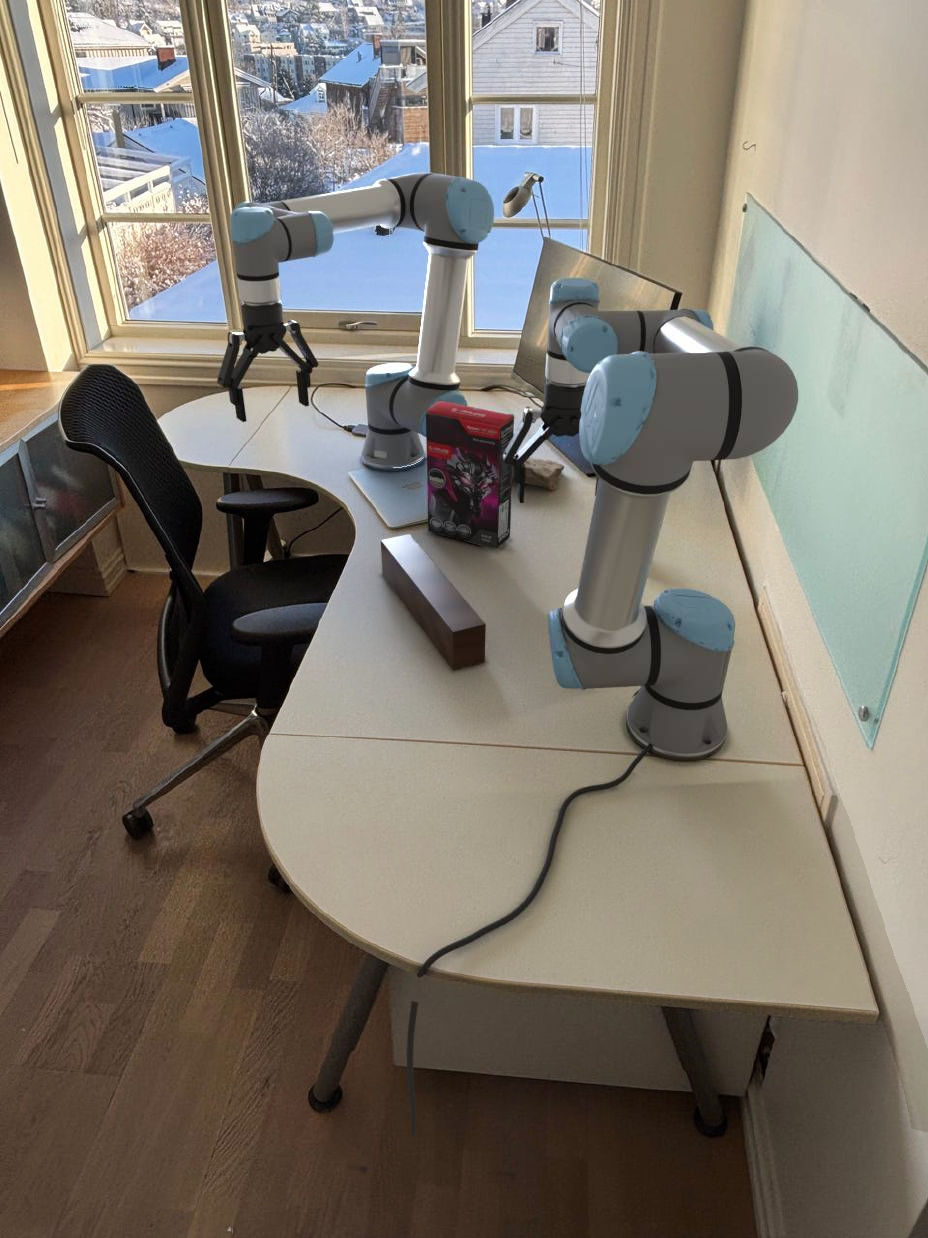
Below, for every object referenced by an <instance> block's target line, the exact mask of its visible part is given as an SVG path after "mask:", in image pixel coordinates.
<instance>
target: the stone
mask: <svg viewBox="0 0 928 1238" xmlns="http://www.w3.org/2000/svg"><path fill="white" fill-rule="evenodd" d="M517 453H518V451H517V452H516V454H517ZM516 454H515V455H516ZM524 464H525V468H526V471H525V484H528V485H532V486H541V487H543V488H545V489H547V490H554V489H555V488H556V486H557V484H558V479H559V477H560V476H561V474H562V472H563V470H564V469H565V466H564V465H563V464H561V463H559V462H557V461H553V460H550V459H540V458H537V457H536V458H535V457H529V458H528V459H527V460H526V461H525V462H524ZM512 478H513V466H512Z"/></svg>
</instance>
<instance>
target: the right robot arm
mask: <svg viewBox="0 0 928 1238" xmlns="http://www.w3.org/2000/svg"><path fill="white" fill-rule="evenodd" d="M600 301H601V300H600V286H599V284H598V283H597V282H596V281H594V280H593V279H589V278H585V277H564V278H559V279H557V280H555V281H553V282H552V284H551V286H550V293H549V300H548V303H547V306H548V322H547V323H548V324H547V341H546V342H547V344H546V357H545V359H546V360H545V372H544V376H545V378H546V379H545V381H544V388H543V389H544V390H543V405H542V407H541V409H533V408H531V407H530V406H525V407H524V408H523V413H522V414H523V415H522V419H521V420H520V423H519V425H518V426H517V428H516V430H515V432H514V433H513V437H512V439H511V441H510V442H509V444H508V446H507V448H506V450H505V451H504V453H503V460H504V463H505V464H510V465H512V466H513V477H512V482H513V485H518V487H517V490H518V491H517V498H518V502H519V504H525V491H526V490H525V488H526V482H525V471H526V468H525V464H524V462H525V461H526V460H527V459H528V458H531V456H532V455H533V454H535V452H536V451H537V450H538V449H539V448H540V446H542V445H543V443H544V442H545V441H547V440H549V438H551V437H552V435H554V436H555V437H559V438H560V437H564V436H567V437H575V436H576V435H579V445H580V450H581V453H582V456H583V458H584V459H585V460H586V461H587V462H588V463H590V466H591V468H592V471H593V472H594V474H595V477H596V479H595V487H594V489H595V490H594V496H595V497H594V503H593V509H592V512H591V513H592V514H591V519H590V523H589V524H590V525H589V528H588V529H589V530H588V534H587V540H586V544H585V550H584V556H583V561H582V565H581V571H580V576H579V581H578V587H577V588H576V589H574V590H572V592H570V593H569V595H568V596H567V597H566V598H565V601H564V604H563V607H557V608H556V609H551V610H550V611H549V612H548V614H547V626H548V627H547V628H548V636H549V646H550V647H549V648H550V655H551V662H552V668H553V673H554V677H555V680H556V683H557V684H558V685H559V686H560V687H561V688H562V689H567V690H571V689H572V690H573V689H575V690H582V691H585V690H591V689H593V690H594V689H609V688H610V689H611V688H623V687H624V688H627V687H628V688H629V687H640V688H639V689H638V690H637V691H635V692H634V694H633V695H632V696H631V699H632V701H631V702H630V704H629V706H628V708H627V711H626V719H625V728H626V732H627V734H628V736H629V738H630V739H631V741H632V742H634V744H636V745H637V746H638V747H639V748H640V749H641V750H642V751H641V752H640V753H639V754H638V755H637V756H636V757H635V758H634V759H633V761H632V762H631V763H630V765H629V766H628V768H627V769H626V770H625V771H624V773H623V774H622V775H620V776H619V777H618V778H616V779H614V780H612V781H609V782H604V783H600V784H595V785H588V786H584V787H581V788H579V789H577V790H575V791H574V792H572V793H571V794H570V795H569V796H568V797H567V798H566V799H565V800H564V802H563V803H562V805H561V806H560V809H559V812H558V816H557V818H556V822H555V825H554V828H553V830H552V834H551V838H550V841H549V845H548V851H547V855H546V858H545V861H544V863H543V867H542V869H541V871H540V874H539V876H538V878H537V880H536V882H535V884H534V886H533V888H532V890H531V891H530V892H529V894H528V896H527V897H526V898H525V899H524V900H523V902H522V903H520V904H519V905H518V906H517V907H516V908H515V909H514V910H513V911H511V912H510V913H508V914H507V915H505V916H503V917H502V918H500V919H497V920H495V921H494V922H492V923H489V924H487V925H486V926H483V927H482V928H480V929H478V930H477V931H475V932H473V933H471V934H470V935H468V936H465V937H463V938H461V939H459V940H457V941H455V942H452V943H450V944H447V945H446V946H444V947H442V948H440V949H438V950H437V951H435V952H434V953H433V954H432V955H430V956H429V957H428V958H427V960H425V962H424V963H423V964H422V965H421V966H420V968H419V969H418V971H417V973H416V977H418V978H423V977H424V976H425V974H426V972H427V971H428V970H429V968H430V967H431V966H432V965H433V964H434V963H436V961H437V960H439V959H441V958H442V957H444V956H445V955H447V954H449V953H451V952H453V951H455V950H458V949H460V948H462V947H464V946H467V945H468V944H472V942H475V941H476V940H478V939H480V938H481V937H483V936H485V935H486V934H489V933H490V932H492V931H494V930H497V929H498V928H500V927H502V926H504V925H506V924H508V923H509V922H511V921H513V920H514V919H515V918H517V917H518V916H519V915H521V913H523V912H524V911H525V910H526V909H527V908H528V906H530V905H531V903H532V902H533V901H534V899H535V898H536V896H537V895H538V893H539V892H540V891H541V888H542V886H543V884H544V882H545V880H546V877H547V875H548V873H549V872H550V871H549V870H550V868H551V865H552V862H553V859H554V854H555V851H556V846H557V840H558V837H559V834H560V831H561V829H562V825H563V822H564V818H565V815H566V812H567V809H568V808H569V806H570V804H571V803H572V802H573V801H574V800H576V799H577V798H578V797H579V796H581V795H584V794H587V793H590V792H596V791H603V790H608V789H611V788H614V787H616V786H618V785H621V784H622V783H623V782H624V781H626V780H627V779H628V778H629V776H630V775H631V774H632V772H633V771H634V769H635V768H636V767H637V766H638V765H639V763H640V762H641V761H642V760H643V759H644V758H645V757H646V756H647V754H650V755H651V756H654V757H656V758H659V759H662V760H666V761H670V762H675V763H694V762H700V761H703V760H706V759H709V758H711V757H714V755H716V754H718V752H720V751H721V750H722V748H723V747H724V744H725V743H726V740H727V739H726V738H727V734H728V721H727V716H726V712H725V708H724V707H725V706H724V701H723V692H724V686H725V682H726V678H727V674H728V669H729V664H730V659H731V654H732V651H733V649H734V646H735V640H734V639H735V632H736V620H735V617H734V614H733V612H732V611H731V609H730V608H729V607H728V606H727V605H726V604H725V603H723V602H722V601H721V600H720V599H718V598H716V597H715V596H712V595H711V594H709V593H706V592H704V591H701V590H696V589H693V588H686V587H673V588H668V589H665V590H663V591H662V592H660V593H658V595H657V596H656V597H655V599H654V601H653V604H652V605H643V603H642V598H643V595H644V592H645V588H646V586H647V585H646V584H647V580H648V578H649V577H648V576H649V573H650V570H651V565H652V563H653V558H654V555H655V551H656V547H657V544H658V540H659V537H660V533H661V529H662V525H663V523H664V518H665V515H666V511H667V507H668V504H669V500H670V496H671V493H672V492H675V491H677V490H679V489H680V488H681V487H682V486H683V485H684V484H685V483H686V482H687V480H688V479H689V477H690V475H691V471H692V467H693V464H694V463H695V462H709V461H710V462H711V461H726V460H728V461H729V460H738V459H742V458H746V457H750V456H752V455H754V454H757V453H759V452H761V451H764V449H766V448H768V447H769V446H770V445H773V444H774V442H776V441H777V440H778V439H779V438H780V437H781V436H783V435H784V433H785V431H786V430H787V428H788V427H789V426H790V424H791V423H792V420H793V419H794V417H795V414H796V412H797V409H798V408H797V407H798V404H799V388H798V387H799V386H798V381H797V378H796V376H795V374H794V371H793V369H792V368H791V367H790V365H789V364H788V363H787V362H786V361H785V360H784V359H783V358H782V357H779V356H778V355H776V354H775V353H773V352H771V351H769V350H768V349H766V348H762V347H760V346H751V345H750V346H741V345H739V344H738V343H736V342H735V341H733V340H731V339H729V338H727V337H725V336H724V335H722V334H720V333H718V332H716V331H715V329H714V323H713V320H712V316H711V315H710V313H709V312H707V310H703V309H692V308H680V309H661V310H660V309H659V310H658V309H657V310H599V304H600V303H601V302H600ZM538 419H540V420H541V421H542V424H541V425H540V426H539V428H538V430H537V431H536V432H535V433H534V434H533V435H532V436H531V437H530V439H529V440H528V441H527V442H525V444H524V445H523V446H522V443H523V442H524V440H525V438H526V437H527V435H528V433H529V431H530V429H531V427H532V424H535V423H536V421H537V420H538ZM521 446H522V447H521ZM519 448H520V449H519ZM516 452H517V454H516ZM515 454H516V455H515ZM418 1008H419V1002H417V1001H414V1000H411V1004H410V1010H409V1019H408V1027H407V1037H406V1072H407V1086H408V1087H407V1088H408V1100H409V1101H408V1102H409V1114H410V1115H409V1116H410V1133H411V1134H414V1135H415V1134H416V1133H417V1127H418V1126H417V1104H416V1103H417V1102H416V1090H415V1089H416V1088H415V1075H414V1045H415V1044H414V1043H415V1033H416V1031H415V1030H416V1021H417V1014H418Z"/></svg>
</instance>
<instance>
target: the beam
mask: <svg viewBox="0 0 928 1238" xmlns="http://www.w3.org/2000/svg"><path fill="white" fill-rule="evenodd" d="M380 553H381V557H380V558H381V575H382V577H383V579H384V580H385V581H386V582H387V584H388V585H389V587H390V588H391V590H392V591H393V592H394V594H395V595H396V596H397V597H398V599H399V600H400V602H401V603H402V604H403V606H404V607H405V608H406V609H407V611H408V612H409V613H410V615H411V616H412V618H413V619H414V621H415V622H416V623H417V624H418V626H419V628H421V630H422V632H423V633H424V634H425V635H426V637H427V638H428V639H429V641H430V642H431V643H432V645H433V646H434V648H435V649H436V650H437V651H438V653H439V655H440V656H441V657H442V658H443V660H444V661H445V662H446V664H447V665H448V666H449V667H450V669H451V671H453V672H454V671H455V672H456V671H457V670H461V669H465V668H470V667H473V666H476V665H480V664H484V663H485V662H486V634H487V633H486V632H487V631H486V629H487V627H486V626H487V624H486V622H485V621H484V620H483V619H482V618H481V616H480V615H479V614H478V612H476V611H475V609H474V608H473V607H472V606H471V604H469V602H468V601H467V600H466V599H465V597H463V595H462V594H461V593H460V591H459V590H457V588H456V587H455V586H454V585H453V583H452V582H451V581H450V580H449V579H448V578H447V577H446V575H445V574H444V573H443V572H442V571H441V569H440V568H439V567H438V566H437V564H435V562H434V561H433V560H432V559H431V558H430V557H429V555H428V553H426V552H425V550H424V549H423V548H422V547H421V546H420V544H419V543H418V542H417V541H416V540H415V539H414V537H413V536H412V535H411V534H410V533H408V534H404V535H398V536H393V537H389V538H385V539H380Z"/></svg>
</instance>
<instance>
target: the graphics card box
mask: <svg viewBox="0 0 928 1238" xmlns="http://www.w3.org/2000/svg"><path fill="white" fill-rule="evenodd" d="M514 415H515V414H514V413H513V414H511V413H503V412H497V411H493V410H488V409H485V408H479V407H475V406H468V405H467V406H464V405H459V404H455V403H450V402H446V401H439V402H437V403H435V404H434V405H433V406H431V407H430V408H429V409H428V410H427V411H426V437H425V442H426V443H425V444H426V445H425V446H426V490H427V491H426V492H427V493H426V494H427V495H426V496H427V497H426V498H427V500H426V501H427V532H428V533H432V534H435V535H436V534H437V535H440V536H444V537H446V538H447V537H448V538H452V539H456V540H460V541H463V542H466V543H467V542H468V543H470V544H474V545H478V546H483V547H486V548H490V549H493V550H498V549H499V548H500V547H501V546H502V545H504V543H506V541H508V540H509V539H510V538H511V525H512V524H511V523H512V522H511V521H512V519H511V517H512V490H513V489H512V484H513V477H512V465H510V464H505V463H504V460H503V453H504V451H505V450H506V448H507V446H508V444H509V442H510V441H511V439H512V437H513V435H514V433H515V432H514V431H515V426H514V425H515V418H516V417H515V416H514Z"/></svg>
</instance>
